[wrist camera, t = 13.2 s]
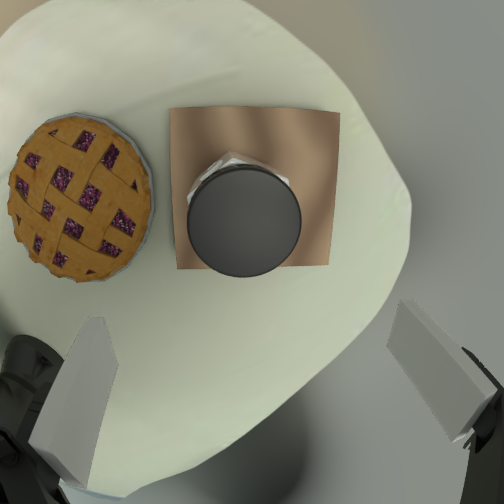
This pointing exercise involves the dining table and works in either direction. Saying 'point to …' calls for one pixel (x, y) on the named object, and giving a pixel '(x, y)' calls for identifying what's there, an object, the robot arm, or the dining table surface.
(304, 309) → the dining table surface
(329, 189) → the wooden serving stand
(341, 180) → the dining table surface
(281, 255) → the jar
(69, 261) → the pie
